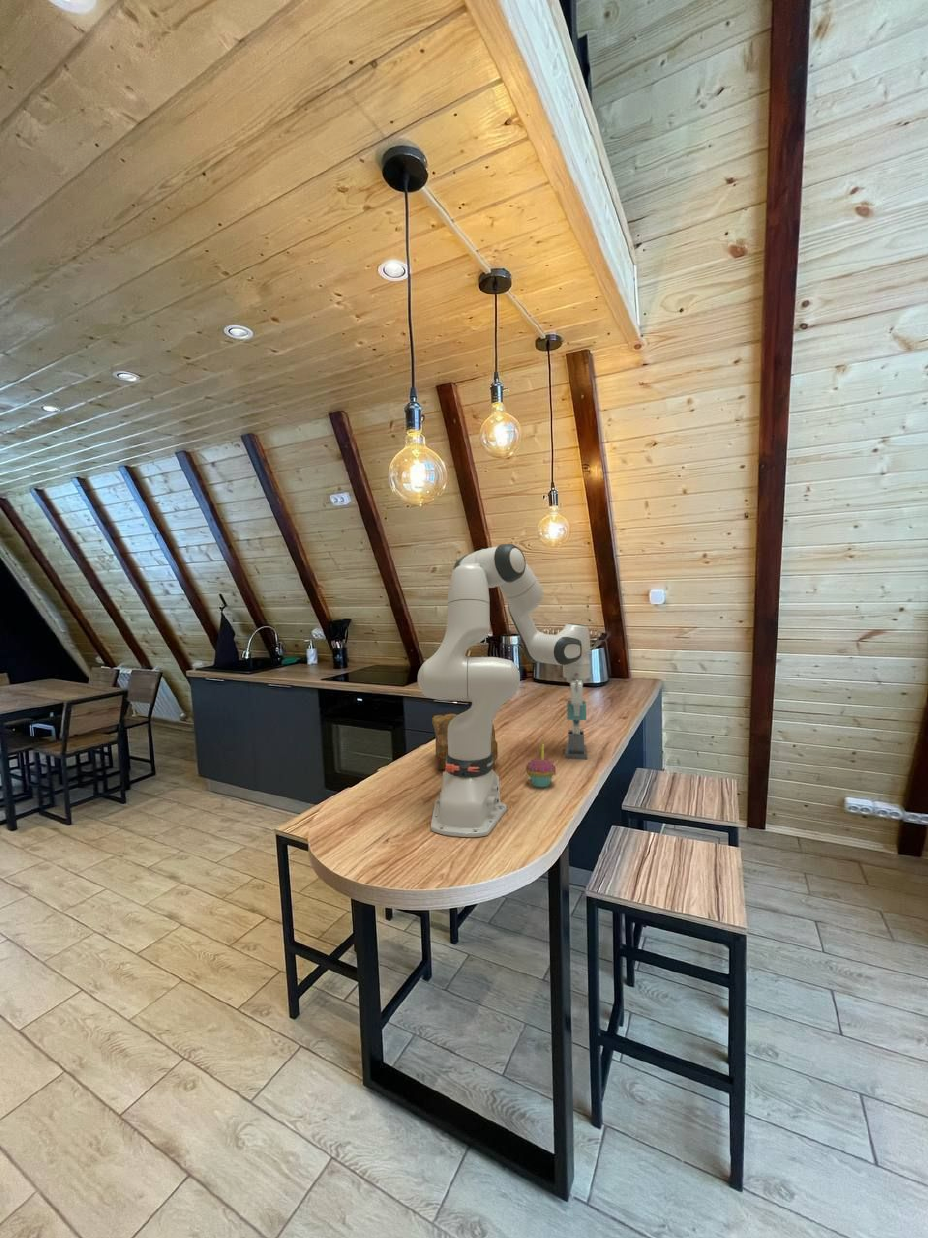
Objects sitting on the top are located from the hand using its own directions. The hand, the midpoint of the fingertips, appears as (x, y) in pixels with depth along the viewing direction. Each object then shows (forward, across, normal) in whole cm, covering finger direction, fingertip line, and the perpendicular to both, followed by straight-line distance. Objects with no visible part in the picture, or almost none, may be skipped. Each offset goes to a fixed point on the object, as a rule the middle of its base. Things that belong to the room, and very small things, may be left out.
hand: (576, 712), depth 164 cm
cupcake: (+15, -28, +10) cm, 33 cm away
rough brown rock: (+14, -18, +37) cm, 44 cm away
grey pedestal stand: (+14, +2, 0) cm, 14 cm away
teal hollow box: (+2, 0, 0) cm, 2 cm away
